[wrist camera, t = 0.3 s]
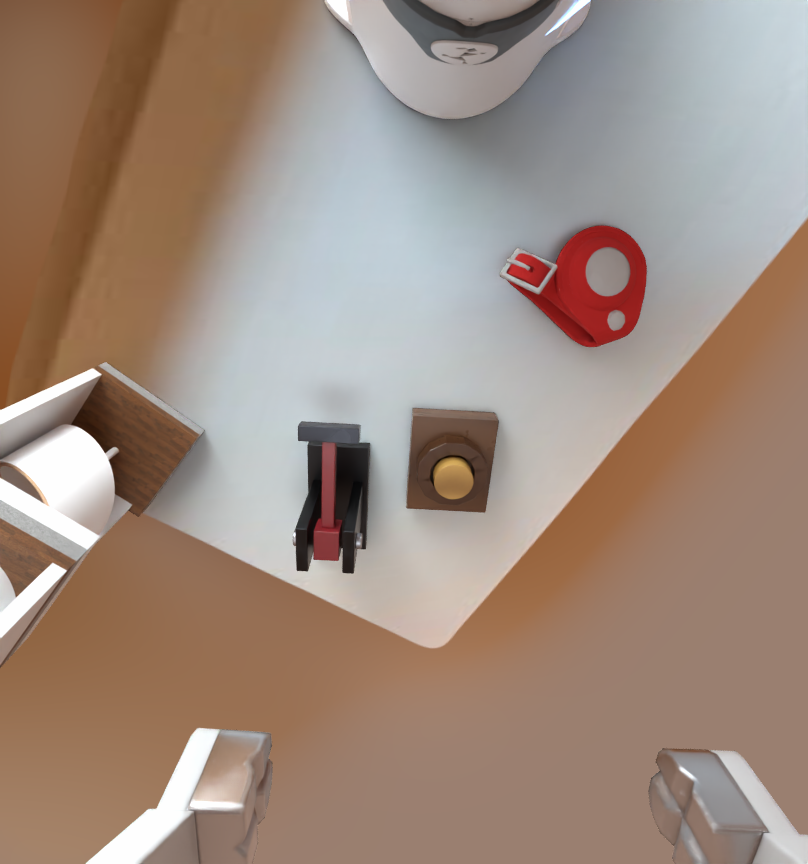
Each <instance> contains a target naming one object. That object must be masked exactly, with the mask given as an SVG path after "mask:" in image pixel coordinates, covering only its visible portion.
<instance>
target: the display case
mask: <svg viewBox="0 0 808 864" xmlns="http://www.w3.org/2000/svg"><path fill="white" fill-rule="evenodd" d="M204 431H205V430H204V429H202V428H201V427H199V426H198V425H196V424H195V423H193V422H192V421H190V420H189V419H188V418H186V417H185V416H183V415H182V414H180V413H179V412H177V411H176V410H174V409H173V408H171V407H170V406H169V405H167V404H166V403H164V402H163V401H161V400H160V399H158V398H157V397H155V396H154V395H153V394H151V393H150V392H148V391H147V390H145V389H144V388H142V387H141V386H139V385H138V384H137V383H135V382H134V381H132V380H131V379H129V378H128V377H126V376H125V375H123V374H122V373H121V372H119V371H118V370H116V369H115V368H113V367H112V366H110V365H109V364H107V363H106V362H105V363H103V364H101V365H99V366H97V367H95V368H92V369H90V370H88V371H86V372H84V373H81V374H79V375H77V376H75V377H73V378H70V379H68V380H66V381H64V382H62V383H59V384H57V385H55V386H53V387H51V388H48V389H46V390H44V391H42V392H40V393H37V394H35V395H33V396H31V397H29V398H27V399H24V400H22V401H20V402H18V403H16V404H13V405H11V406H9V407H7V408H5V409H2V410H0V667H1V666H2V665H3V664H4V663H5V662H6V661H7V660H8V659H9V658H10V657H11V656H12V655H13V653H14V652H15V651H16V650H17V649H18V648H19V647H20V646H21V645H22V644H23V643H24V641H25V640H26V639H27V638H28V637H29V636H30V634H31V633H32V631H33V630H34V628H35V627H36V626H37V624H38V623H39V622H40V620H41V618H42V617H43V616H44V615H45V613H46V612H47V610H48V609H49V608H50V606H51V605H52V603H53V602H54V601H55V599H56V598H57V596H58V595H59V594H60V592H61V591H62V589H63V588H64V587H65V585H66V584H67V582H68V581H69V580H70V578H71V577H72V576H73V574H74V573H75V571H76V570H77V569H78V567H79V566H80V564H81V563H82V562H83V560H84V559H85V557H86V556H87V555H88V553H89V552H90V550H91V549H92V548H93V546H94V545H95V544H96V543H97V542H98V541H99V540H100V539H101V538H102V537H103V536H104V535H105V534H106V533H107V532H108V531H109V530H110V529H111V528H112V527H113V526H114V525H115V524H116V523H117V522H118V521H119V520H120V519H121V517H122V516H123V515H124V514H125V513H126V512H127V511H130V512H131V513H133V514H135V515H136V516H140V515H141V514H142V513H143V512H144V510H145V509H146V508H147V507H148V506H149V505H150V503H151V502H152V501H153V499H154V498H155V497H156V495H157V494H158V493H159V491H160V490H161V489H162V487H163V486H164V485H165V483H166V482H167V480H168V479H169V478H170V476H171V475H172V474H173V472H174V471H175V470H176V468H177V467H178V466H179V464H180V463H181V462H182V460H183V459H184V458H185V456H186V455H187V454H188V452H189V451H190V449H191V448H192V447H193V445H194V444H195V443H196V441H197V440H198V439H199V437H200V436H201V435H202V433H203V432H204Z"/></svg>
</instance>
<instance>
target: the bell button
mask: <svg viewBox="0 0 808 864" xmlns="http://www.w3.org/2000/svg"><path fill="white" fill-rule="evenodd" d="M433 479H434V486H435V489H436V491H437V492H438V493H439V494H440V495H441V496H443V497H445V498H448V499H459V498H462V497H464V496H465V495H467V494H468V493H469V492H470V490H471V489H472V487H473V482H474V480H473V475H472V471H471V468H470V466H469V464H468V463H467V462H466V461H465V460H464V459H462V458H459V457H454V456H451V457H446V458H444V459H442V460H440V461H439V462H438V463H437V464H436V466H435V468H434V470H433Z"/></svg>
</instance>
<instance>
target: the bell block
mask: <svg viewBox="0 0 808 864" xmlns="http://www.w3.org/2000/svg"><path fill="white" fill-rule="evenodd" d="M498 423H499V420H498V418H497V416H496V414H495V413H491V412H474V411H456V410H439V409H422V408H413V411H412V425H411V439H410V453H409V467H408V481H407V495H406V508H410V509H429V510H448V511H466V512H486V505H487V498H488V491H489V484H490V478H491V471H492V464H493V457H494V450H495V444H496V437H497V430H498ZM451 456H454V457H459V458H462V459H464V460H465V461H466V462H467V463H468V464H469V466H470V468H471V471H472V475H473V480H474V482H473V487H472V489H471V490H470V492H469V493H468V494H467V495H465V496H464V497H462V498H459V499H448V498H445V497H443V496H441V495H440V494H439V493H438V492H437V491H436V489H435V486H434V479H433V470H434V468H435V466H436V464H437V463H438V462H439V461H440V460H442V459H444V458H446V457H451Z"/></svg>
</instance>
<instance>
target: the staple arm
mask: <svg viewBox="0 0 808 864" xmlns="http://www.w3.org/2000/svg"><path fill="white" fill-rule="evenodd" d="M360 429H361V425H355V424H338V423H320V422H301V423H300V424H299V425H298V441H311V442H322V513H321V519H318V521H317V523H316V526H315V529H314V558H313V559H314V560H331V561H338V560H339V556H340V552H341V547H342V520H337V519H335V509H336V457H337V443H347V444H359V441H360Z"/></svg>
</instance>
